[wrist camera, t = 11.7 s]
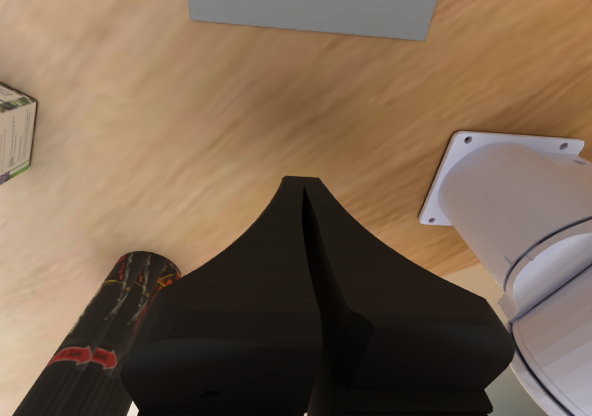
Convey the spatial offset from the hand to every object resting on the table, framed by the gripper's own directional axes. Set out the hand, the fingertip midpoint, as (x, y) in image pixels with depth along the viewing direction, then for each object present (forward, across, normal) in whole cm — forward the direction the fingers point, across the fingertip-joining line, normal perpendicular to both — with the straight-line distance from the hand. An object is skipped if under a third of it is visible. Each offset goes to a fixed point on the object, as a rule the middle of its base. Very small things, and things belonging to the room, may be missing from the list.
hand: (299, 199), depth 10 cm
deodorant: (+10, +13, +16) cm, 23 cm away
